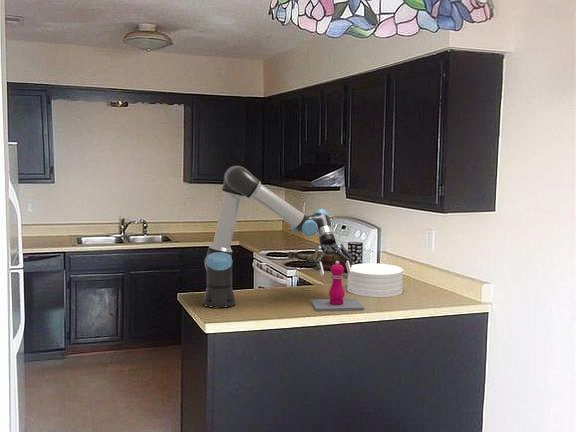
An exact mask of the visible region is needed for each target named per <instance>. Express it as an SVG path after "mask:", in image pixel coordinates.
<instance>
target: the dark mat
mask: <svg viewBox="0 0 576 432" xmlns="http://www.w3.org/2000/svg"><path fill="white" fill-rule="evenodd" d="M330 299H331V298H328V299H327V298H322V299H320V298H319V299H318V298H317V299H316V298H315V299H314V298H313V299H310V303H311V305H312V307H313V309H314V308H315V309H314V310H316V311H315V312H337V311H338V312H340V311H344V312H345V311H348V310H349V311H365V307H364V306H363V305H362V303H361V302H360V301H359V300H358V298H342V299H343V304H342V305H332V304H330Z"/></svg>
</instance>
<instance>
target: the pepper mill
mask: <svg viewBox="0 0 576 432" xmlns="http://www.w3.org/2000/svg"><path fill="white" fill-rule="evenodd" d="M344 272H345V271H344V268H343V266H342V265H340V264H339V261H336V264H335V265H333V266H332V267H331V270H330V273H331V278H332V284H331V286H330V288H329V292H328V296H329V299H330V304H332V305H342V304H343V299H344V298H345V295H346V294H345V290H344V287H343V284H342V280H343V273H344Z"/></svg>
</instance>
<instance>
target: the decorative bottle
mask: <svg viewBox="0 0 576 432" xmlns="http://www.w3.org/2000/svg"><path fill="white" fill-rule="evenodd" d="M322 252H323V251H318V254H317V257H316V260H318V258H319V257H320V255H321V254H322ZM314 254H315V253H310V254H305V253H304V254H303V253H295V252H294V251H289V252H287V259H289V260H292V259H297V260H300V261H306V262H308V263H311V264H312V265H314V266H316V265H315V263H314V264H313V263H312V260H313V257H314ZM336 261H339V264H340V265H342V266H343V268H344V272H345V273H347V268H346V262H345V261H344V260H342V259H341V258H340V257H339V256H337V255H335V254H329V255H327V254H325V255H324V256H323V258H322V259H321V261H320V262H321V263H322V267H323V270H326V271H327V270H328V271H331V267H332V266H333V265H335V264H336ZM316 267H317V266H316Z"/></svg>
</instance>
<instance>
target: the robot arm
mask: <svg viewBox="0 0 576 432" xmlns="http://www.w3.org/2000/svg"><path fill="white" fill-rule="evenodd" d="M223 175H224V176H223V183H222V190H221V192H222V194H223V199H222V202H221V208H220V211H219V216H218V219H217V225H216V229H215V233H214V237H213V242H212V243H211V244H210V245H208V250H207V253H206V255H205V257H204V262H203V263H204V267H205V270H206V290H205V293H204V295H203V299H202V305H203V304H204V305H207V306H212V307H225V306H232V305H234V304H235V303H236V302H237V300H236V296H235V293H234V290H233V259H232V256H233V250H232V248H231V245H232V241H233V237H234V232H235V228H236V224H237V221H238V217H239V212H240V207H241V204H242V199H244V198H245V197H246V198H247V199H253V200H254V201H256V202H257V203H258V204H260V205H262V206H263V207H264V208H266V209H267V210H268V211H270V212H271V213H273V214H274V215H276V216H278V217H279V218H280V219H282V220H283V221H285V222H286V223H288V224H289V225H290V229H291V232H293V233H300V232H301V233H302V234H303V235H305V236H306V237H313V236H314V235H315V236H316V234H317V237H318V242H319V244H320V245H319V244H316V245H315V247H314V251H315V252H314V253H313V254H314V257H313V260H312V263H313V264H312V263H311V264H312V265H314V263H315V265H316V269H317V271H319V272H320V277H321V278H322V277H324V275H325V271H324V269H323V267H322V263H321V262H320V261H321V259H322V258H323V256H324V255H325V254H327V255H329V254H335V255H337V256H339V257H340V258H341V259H342V260H344V261H345V262H346V268H347V271H348V275H351V273H352V271H351V267H352V265H351V262H352V261H353V259H354V258H353V257H352V256H351V255H350V254H349V252H348V249H346V248H345V246H344V244H343V243H341V244H339V245H337V242H336V239H335V234H334V230H333V227H332V224H331V220H330V216H329V213H328V211H327V210H326V209H324V208H320V209H317V210H315V211H314V212H313V213H312V214H310V215H309V214H308V215H305V214H304V213H302V212H301V211H300V210H298V209H297V208H295V207H294V206H293V205H291V204H290V203H288V202H287V201H285V200H284V199H283V198H281V197H280V196H279V195H277V194H275V192H273V191H272V190H271V189H269V188H267V187H265V186H264V185H263V184H262V182H261V180H259V179H258V178H257V177H256V176H254V175H253V174H252V173H251V172H250V171H249V170H248V169H247V168H246V167H244V166H241V165H233V166H231V167H228V168H227V170H226V171H225V173H224V174H223ZM320 250H321V252H322V254H321V255H320V257H319V258H318V260H316V257H317V254H318V252H320ZM315 265H314V266H315ZM236 304H237V303H236ZM236 304H235V305H236ZM204 305H203V306H204ZM235 305H234V306H235ZM232 307H233V306H232Z"/></svg>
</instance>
